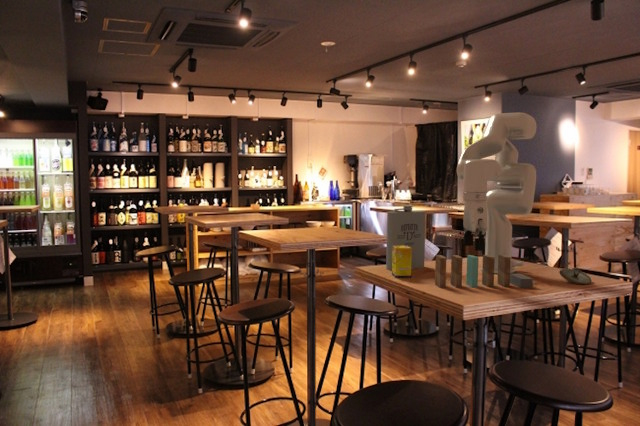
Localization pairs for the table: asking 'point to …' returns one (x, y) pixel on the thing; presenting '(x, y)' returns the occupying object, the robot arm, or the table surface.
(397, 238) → the flask
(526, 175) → the robot arm
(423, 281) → the table surface
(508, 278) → the tile
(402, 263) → the supplement box
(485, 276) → the tile
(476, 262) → the tile
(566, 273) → the lid
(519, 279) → the block
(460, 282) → the tile
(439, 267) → the tile
